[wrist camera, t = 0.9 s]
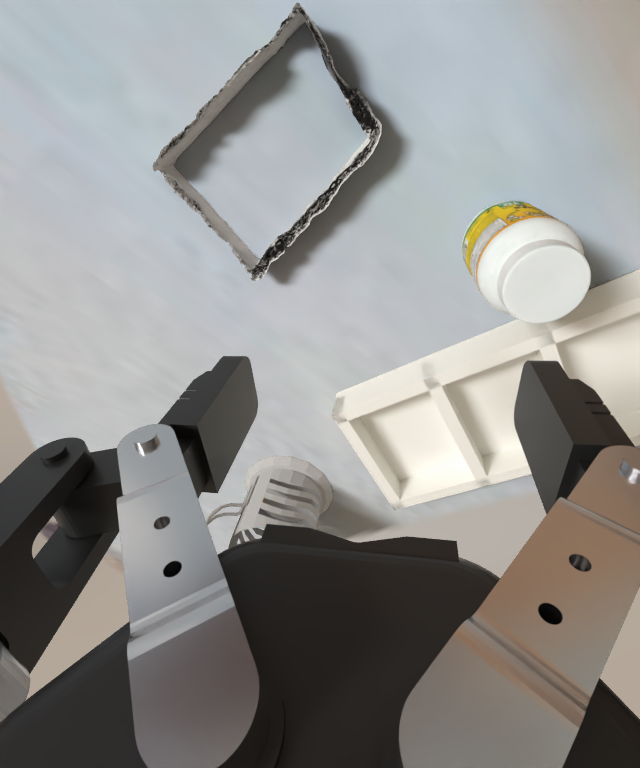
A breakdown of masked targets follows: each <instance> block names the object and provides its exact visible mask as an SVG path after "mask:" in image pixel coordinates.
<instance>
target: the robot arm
mask: <svg viewBox="0 0 640 768" xmlns="http://www.w3.org/2000/svg"><path fill="white" fill-rule="evenodd" d="M257 408H258V400H257V394H256V389H255V383H254V378H253V373H252V368H251V363H250V360H249V358H248V357H246V356H223V357H222V358H221V359H220V360H219V362H218V363H217V364H216V366H215V367H214V368H213V369H212V371H207V372H205V373H204V374H202V375H201V376H199V377H197V378H196V379H194V380H193V382H192V383H191V384H190V385H189V387H188V388H187V389H186V392H185V391H184V393H183V394H182V395H181V396H180V399H179V400H177V401H176V402H175V404H174V405H173V406H172V407H171V409H170V410H169V411H168V412H167V414H166V415H165V416H164V417H163V418H162V420H161V421H160V422H159V423H158V424H153V425H147V426H144V427H141V428H138V429H136V430H134V431H132V432H131V433H129V434H128V435H126V436H125V437H124V438H123V439H122V440H121V441H120V443H119V444H118V447H117V448H114V449H108V450H103V451H97V452H91V453H90V452H89V450H88V448H87V446H86V444H85V442H84V441H83V440H81V439H79V438H64V439H59V440H56V441H53V442H50V443H48V444H46V445H44V446H42V447H40V448H39V449H37V450H36V451H34V452H33V453H32V454H31V455H30V456H29V457H28V458H26V459H25V460H24V461H23V462H22V463H21V464H20V465H19V466H18V467H17V468H16V469H15V470H14V471H13V472H12V473H11V474H10V475H9V476H8V477H7V478H6V479H5V480H4V481H3V482H2V483H0V768H640V719H639V718H638V717H637V716H636V715H635V714H634V713H633V712H632V711H631V710H630V709H629V708H628V707H627V706H626V705H625V704H624V703H623V702H622V701H621V700H620V699H619V697H618V696H616V694H615V693H614V692H613V691H612V690H611V689H610V688H609V687H608V686H607V685H606V684H605V683H604V682H603V681H602V680H601V679H600V675H601V673H602V671H603V669H604V666H605V664H606V662H607V660H608V657H609V655H610V653H611V650H612V648H613V646H614V644H615V641H616V639H617V637H618V634H619V632H620V630H621V628H622V625H623V623H624V621H625V619H626V616H627V614H628V612H629V609H630V607H631V605H632V603H633V600H634V598H635V596H636V593H637V591H638V589H639V587H640V448H637V447H635V446H634V444H633V443H632V441H631V440H630V439H629V437H628V436H627V434H626V433H625V432H624V430H623V429H622V427H621V426H620V425H619V423H618V422H617V420H616V419H615V418H614V416H613V415H611V412H610V411H609V409H608V408H607V406H606V405H603V401H602V399H601V398H600V397H599V395H598V394H597V392H596V391H595V390H594V389H593V388H591V387H590V386H588V385H587V384H585V383H584V382H582V381H581V380H579V379H569V377H568V376H567V374H566V373H565V371H564V370H563V368H562V366H561V365H560V363H559V362H558V361H537V360H527V361H526V362H525V363H524V366H523V369H522V374H521V379H520V383H519V388H518V393H517V398H516V402H515V407H514V425H515V429H516V432H517V435H518V437H519V440H520V443H521V446H522V448H523V451H524V454H525V457H526V459H527V462H528V465H529V468H530V470H531V473H532V476H533V478H534V481H535V484H536V487H537V489H538V492H539V495H540V498H541V500H542V503H543V506H544V509H545V510H546V514H547V515H546V517H545V518H544V519H543V521H542V522H541V524H540V525H539V526H538V528H537V529H536V530H535V532H534V533H533V534H532V536H531V537H530V539H529V540H528V541H527V543H526V544H525V545H524V547H523V548H522V549H521V551H520V552H519V554H518V555H517V556H516V558H515V559H514V561H513V562H512V563H511V565H510V566H509V567H508V569H507V570H506V572H505V573H504V574H503V576H502V577H501V578H499V577H497V576H496V575H494V574H493V573H492V572H490V571H488V570H486V569H485V568H483V567H481V566H479V565H477V564H475V563H473V562H470V561H468V560H465V559H463V558H459V557H458V549H457V541H449V540H439V539H427V538H417V537H400V538H393V539H384V540H377V541H369V542H362V543H356V542H351V541H348V540H345V539H342V538H339V537H336V536H333V535H330V534H327V533H324V532H321V531H318V530H315V529H312V528H307V527H296V526H285V525H274V524H266V527H265V530H264V533H263V535H262V538H260V539H255V540H251V541H247V542H244V543H241V544H238V545H236V546H233V547H231V548H229V549H227V550H225V551H223V552H222V553H220V554H218V555H217V552H216V550H215V547H214V544H213V541H212V538H211V535H210V532H209V529H208V526H207V524H206V521H205V518H204V515H203V512H202V509H201V506H200V503H199V501H198V498H199V496H200V494H201V492H209V493H218V491H219V489H220V487H221V485H222V483H223V481H224V479H225V477H226V475H227V473H228V471H229V469H230V467H231V465H232V463H233V461H234V459H235V457H236V455H237V453H238V451H239V449H240V447H241V445H242V443H243V441H244V439H245V437H246V435H247V433H248V431H249V429H250V427H251V425H252V423H253V421H254V419H255V417H256V414H257ZM52 516H54V517H55V519H56V521H57V522H58V524H59V525H60V526H59V527H58V529H57V530H56V531H55V532H54V534H53V535H52V536H51V537H50V539H49V540H48V541H47V543H46V544H45V545H44V546H43V548H42V549H41V550H40V551H39V553H38V554H37V555H36V557H35V558H34V559H33V557H32V545H33V542H34V540H35V538H36V536H37V535H38V533H39V532H40V531H41V530H42V528H43V527H44V526H45V525H46V523H47V522H48V521H49V520H50V518H51V517H52ZM119 531H120V539H121V548H122V557H123V566H124V575H125V584H126V593H127V601H128V611H129V622H128V623H127V624H126V625H124V626H123V627H122V628H120V629H119V630H118V631H116V632H115V633H114V634H112V635H111V636H110V637H109V638H107V639H106V640H105V641H103V642H102V643H101V644H99V645H98V646H97V647H95V648H94V649H93V650H91V651H90V652H89V653H87V654H86V655H85V656H84V657H82V658H81V659H80V660H78V661H77V662H76V663H74V664H73V665H72V666H70V667H69V668H68V669H66V670H65V671H64V672H62V673H61V674H60V675H59V676H57V677H56V678H55V679H53V680H52V681H51V682H49V683H48V684H47V685H45V686H44V687H43V688H41V689H40V690H39V691H38V692H36V693H35V694H34V695H32V696H31V697H30V698H28V699H27V700H26V698H27V695H28V692H29V687H30V676H29V675H30V673H31V671H32V670H33V668H34V667H35V665H36V663H37V662H38V660H39V659H40V657H41V655H42V654H43V652H44V651H45V649H46V647H47V646H48V644H49V643H50V641H51V640H52V638H53V636H54V635H55V633H56V632H57V630H58V628H59V627H60V625H61V623H62V622H63V620H64V619H65V617H66V616H67V614H68V612H69V611H70V609H71V608H72V606H73V604H74V603H75V601H76V600H77V598H78V596H79V595H80V593H81V592H82V590H83V588H84V587H85V585H86V584H87V582H88V580H89V579H90V577H91V576H92V574H93V572H94V571H95V569H96V568H97V566H98V564H99V563H100V561H101V560H102V558H103V556H104V555H105V553H106V552H107V550H108V548H109V547H110V545H111V544H112V542H113V540H114V539H115V537H116V536H117V534H118V532H119ZM25 700H26V701H25Z"/></svg>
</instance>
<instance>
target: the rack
mask: <svg viewBox="0 0 640 768" xmlns="http://www.w3.org/2000/svg"><path fill="white" fill-rule="evenodd" d="M527 360H537V361H558V362H559V363H560V365H561V366H562V368H563V370H564V371H565V373H566V374H567V376H568V377H569V379H579V380H581V381H582V382H584V383H585V384H587V385H588V386H590V387H591V388H593V389H594V390H595V391H596V392H597V394H598V395H599V397H600V398H601V399H602V401H603V405H606V406H607V408H608V409H609V411H610V412H611V415H613V416H614V418H615V419H616V420H617V422H618V423H619V425H620V426H621V427H622V429H623V430H624V432H625V433H626V434H627V436H628V437H629V439H630V440H631V441H632V443H633V444H634V446H639V445H640V269H639V270H636V271H634V272H632V273H629V274H627V275H624V276H622V277H619V278H617V279H614V280H612V281H610V282H607V283H605V284H602V285H600V286H597V287H595V288H592V289H590V290H588V291H587V293H586V295H585V297H584V299H583V300H582V301H581V302H580V304H579V305H578V306H577V307H576V308H575V309H574V310H572V311H571V312H570V313H568V314H567V315H565V316H563V317H562V318H560V319H557V320H555V321H551V322H547V323H541V324H534V323H527V322H523V321H521V320H519V319H517V320H514V321H512V322H509V323H507V324H504V325H502V326H499V327H497V328H495V329H492V330H490V331H487V332H485V333H482V334H480V335H477V336H475V337H473V338H470V339H468V340H465V341H463V342H460V343H458V344H455V345H453V346H450V347H448V348H446V349H443V350H441V351H438V352H436V353H433V354H431V355H428V356H426V357H424V358H421V359H419V360H416V361H414V362H411V363H409V364H406V365H404V366H402V367H399V368H397V369H394V370H392V371H389V372H387V373H384V374H382V375H380V376H377V377H375V378H372V379H370V380H367V381H365V382H362V383H360V384H357V385H355V386H353V387H350V388H348V389H345V390H343V391H340V392H338V393H337V395H336V399H335V404H334V408H333V413H332V417H333V418H334V420H335V421H336V423H337V424H338V426H339V427H340V429H341V430H342V432H343V433H344V435H345V436H346V438H347V439H348V441H349V442H350V444H351V445H352V447H353V448H354V450H355V451H356V453H357V454H358V456H359V457H360V459H361V460H362V462H363V463H364V465H365V466H366V468H367V469H368V471H369V472H370V474H371V475H372V477H373V478H374V480H375V481H376V483H377V484H378V486H379V487H380V489H381V490H382V492H383V493H384V495H385V496H386V498H387V499H388V501H389V502H390V504H391V505H392V507H393V508H394V510H397V509H401V508H405V507H408V506H412V505H416V504H420V503H423V502H427V501H431V500H435V499H439V498H442V497H446V496H450V495H454V494H457V493H461V492H465V491H469V490H473V489H476V488H480V487H484V486H488V485H492V484H495V483H499V482H503V481H507V480H510V479H514V478H518V477H522V476H526V475H529V474H532V473H531V470H530V468H529V465H528V462H527V459H526V457H525V454H524V451H523V448H522V446H521V443H520V440H519V437H518V435H517V432H516V429H515V425H514V407H515V402H516V398H517V393H518V388H519V383H520V379H521V374H522V369H523V366H524V363H525V362H526V361H527Z"/></svg>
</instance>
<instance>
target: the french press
mask: <svg viewBox="0 0 640 768" xmlns="http://www.w3.org/2000/svg"><path fill="white" fill-rule="evenodd" d="M245 484H246V488H247V495H246V497H245V500H244V502H243V504H236V503H230V504H227V505H223V506H220V507H219V508H217V509H216V510H214V511H213V512H212V513H211V514H210V515H209V517H208V518H207V519H206V524H207V525H208V524H209V523H210V522H212V521H213V520H214V519H215V518H218V517H221V516H237V515H240V514H241V516H240V518H239V521H238V523H237V526H236V528H235V531H234V533H233V536H232V538H231V541H230V544H229V548H231V547H233V546H236V545H238V544H237V541H238V538H239V539H240V542H241V543H244V542H245V541H244V538H243V535H242V532H241V531H242V530H244V531H245V534H246V536H247V537H248V538H249V540H250V541H251V540H255V538H254V537H253V535H252V534H251V533H250V531H249V530H248V529H250V528H252V529H253V530H254V531H255V533H256V534H258V535H261V536H262V535H263V533H264V530H261V529H259V528H265V527H266V524H274V525H285V526H296V527H307V528H312V529H315V530H317V526H318V521H319V516H320V515H321V514H322V513H323V512H325V511H326V510H328V508H329V506H330V504H331V502H332V500H333V494H332V486H331V484H330V483H329V481H328V479H327V478H326V476H325V475H324V473H322V472H321V471H320V470H318V469H317V468H316V467H314V466H313V465H312V464H310V463H308V462H305V461H303V460H300V459H297V458H294V457H286V456H272V457H269V458H265V459H262V460H259V461H257V462H256V463H255V464H254V465H253V466H252V467H251V468H250V469H249V470H248V472H247V476H246V479H245ZM229 506H236V507H241V509H240V511H239V512H238V513H222V514H218V515H215V516H213V515H214V514H216V513H217V512H218V511H219V510H221V509H222V508H225V507H229ZM212 516H213V517H212ZM211 517H212V518H211Z"/></svg>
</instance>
